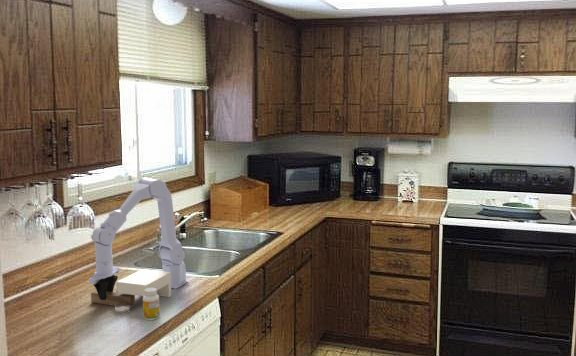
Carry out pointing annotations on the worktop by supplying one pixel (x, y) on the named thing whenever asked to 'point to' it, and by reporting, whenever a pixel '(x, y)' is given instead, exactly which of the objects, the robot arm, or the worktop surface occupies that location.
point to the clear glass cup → (122, 308)
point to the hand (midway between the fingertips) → (105, 297)
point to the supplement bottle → (151, 304)
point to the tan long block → (113, 298)
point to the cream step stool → (146, 283)
